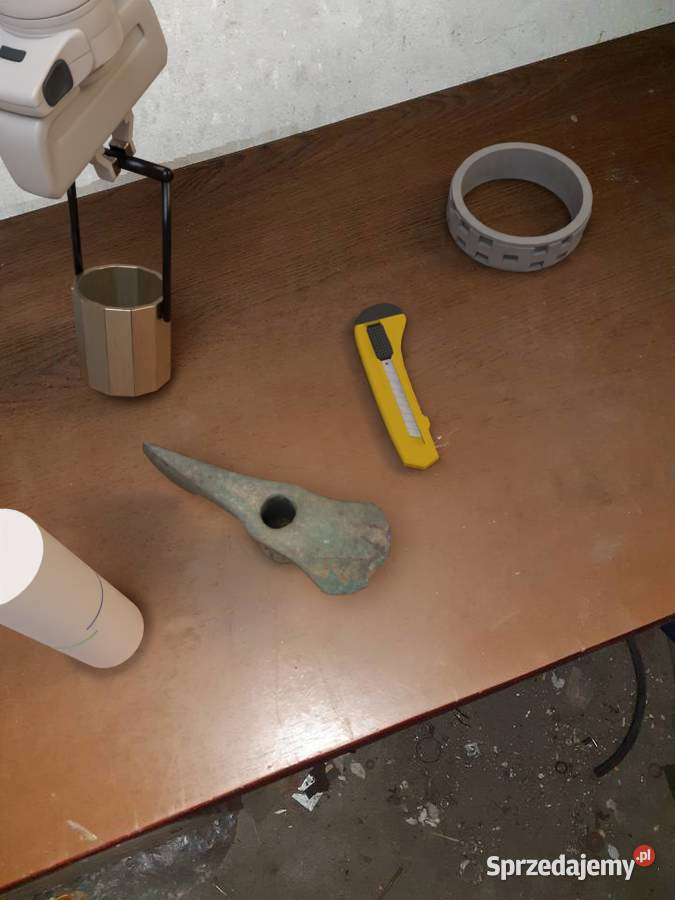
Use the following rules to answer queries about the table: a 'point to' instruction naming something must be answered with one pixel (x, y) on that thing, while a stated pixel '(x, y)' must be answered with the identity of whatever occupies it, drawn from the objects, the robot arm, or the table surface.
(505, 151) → the ring
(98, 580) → the cylindrical container
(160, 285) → the bucket
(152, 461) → the axe head
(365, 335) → the utility knife
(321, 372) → the table surface
